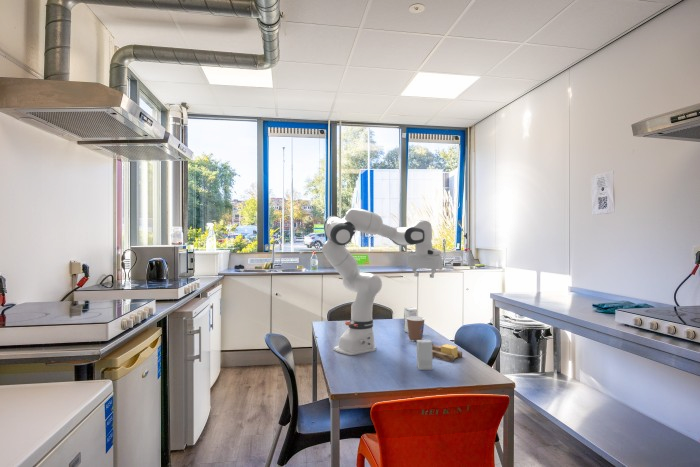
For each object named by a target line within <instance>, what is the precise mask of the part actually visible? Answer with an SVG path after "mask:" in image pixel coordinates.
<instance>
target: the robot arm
mask: <svg viewBox="0 0 700 467" xmlns="http://www.w3.org/2000/svg"><path fill="white" fill-rule="evenodd" d="M323 229H324V230H323V231H324V236H325V238H326V239H327V240H326V241H325V242H324V243H323V245H322V247H321V252H322V254H323V256H324V257H325V259H326V261H328V263H329V264H330V265H331V266H332V267H333V269H334V270H335V271H336V272H337V273H338V274H339V275H340V277H341V279H342V284H343V287H344V288H345V289H347V290H348V291H350V292H352V293H353V292H354V293H356V298H355V300H354V301H353V302H352V303H351V304H350V306H351V308H350V309H351V310H350V314H351V315H350V321H347V320H346V321H345V323H344V324H345V326H348V328H347V329H346V330H345V331H344V332H343V333H342V335H341V336H339V340H338V345H336V346H334V347H333V350H334V351H335V352H337V353H339V354H342V355H348V356H349V355H350V356H355V355H361V354H364V353H369V352H374V351H376V350H377V347H376V345H375V334H374V331H373V327H374V319H373V307H374V306H373V305H374V302H375V298H376V296H377V295H378V293H380V291H381V290H382V286H383V281H382V279H381V277H380V276H378V275H376V274H375V273H371V272H365V271H362V270H360V269H359V267H358V261H357V259H356V258H355V257H354V256H353V255H352V253H351V252H350V251H349V250H348V249H347V247H345V246H346V245H347V244H349V243H350V242H351V241H352V239H353V236H354V235H355V233H356V232H360V233H364V234H368V235H372V236H373V235H378V236H380V237H385V238H387V239H389V240H390V241H391V242H393V243H394V244H395V245H397V246H413V245H415V250H409V251H408V252H407V254H406V258H407V259H406V267H407V268H410V269H411V270H412V272H413V273H414V275H413V276H414V277H419V272H417V269H427V270H431V273H430V274H429V278H431V279H432V278H434V277H435V273H436V270H442V269H443V258H442V255H441V254H442V251H441V250H439V249H437V248H434V247H433V243H432V240H433V226H432V225H431V222H429V221H428V220H417V221H416V222H415V223H413V224H411V225H409V226H397V227H396V226H395V227H393V226H390V225H387V224H384V223H383V218H382V217H381V215H379V214H377V213H374V212H372V211H370V210H367V209H363V208H356V207H352V208H349V209H348V210H347V211H346V213H345V215H344V216H343V218H342V217H341V216H337V215H330V216H328V217H327V218H326V219H325V220H324V224H323Z"/></svg>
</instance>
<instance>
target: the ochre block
mask: <svg viewBox="0 0 700 467" xmlns="http://www.w3.org/2000/svg"><path fill="white" fill-rule="evenodd" d="M458 348H459V347H458V346H455V345H453V344H448V343H446V344H443V345H441V352H442V353H446V354H450V355H454V360H455V359H456V358H458V351H459V350H458Z"/></svg>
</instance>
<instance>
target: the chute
mask: <svg viewBox="0 0 700 467" xmlns="http://www.w3.org/2000/svg"><path fill="white" fill-rule="evenodd" d="M441 346H442V345H441ZM441 346H440V345H436V344H434V343H433V342H432V358H435V359H439V360H443V361H446V362H449V363H452V362H454V361H455V359H454V355H450V354H446V353H442V352H441ZM457 358H459V359H460V358H463V351H462V350H458V357H457Z"/></svg>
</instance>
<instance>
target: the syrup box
mask: <svg viewBox="0 0 700 467" xmlns="http://www.w3.org/2000/svg"><path fill="white" fill-rule="evenodd" d="M411 316H418V309H417V308H416V307H404V309H403V331H404V332H405V333H407V334H409V333H408V324H407V317H411Z"/></svg>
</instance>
